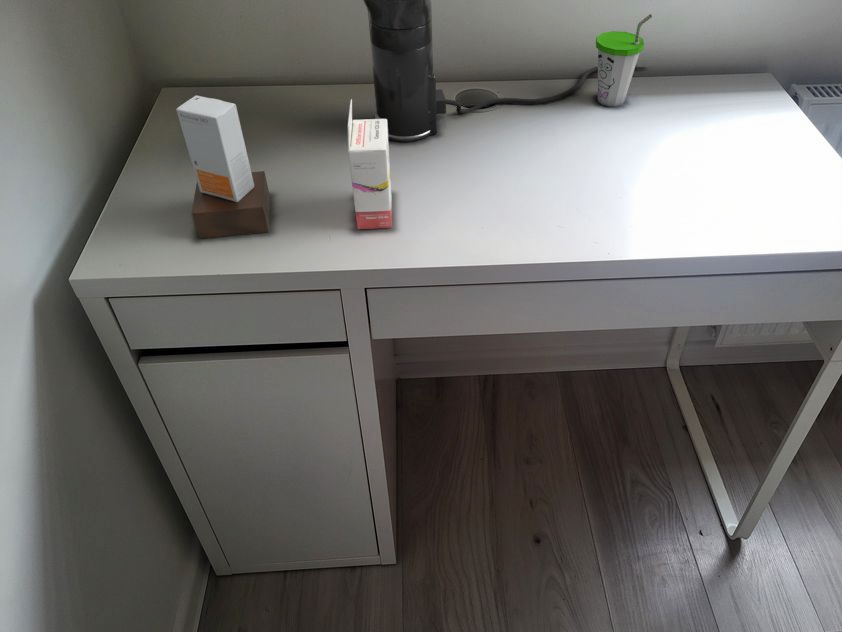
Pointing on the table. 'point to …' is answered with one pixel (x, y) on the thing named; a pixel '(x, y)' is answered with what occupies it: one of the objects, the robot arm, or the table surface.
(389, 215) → the ink cartridge box
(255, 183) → the block
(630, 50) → the cup
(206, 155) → the cosmetic box
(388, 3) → the robot arm
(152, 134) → the table surface
